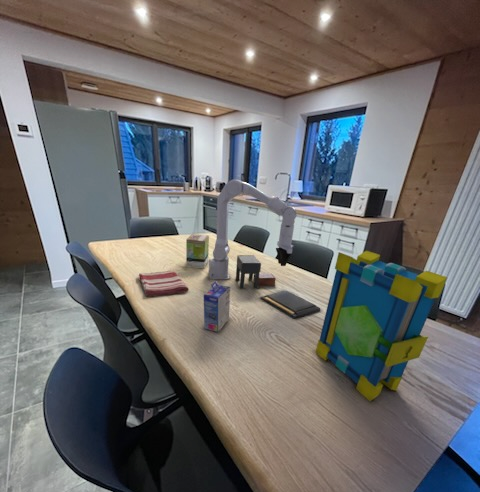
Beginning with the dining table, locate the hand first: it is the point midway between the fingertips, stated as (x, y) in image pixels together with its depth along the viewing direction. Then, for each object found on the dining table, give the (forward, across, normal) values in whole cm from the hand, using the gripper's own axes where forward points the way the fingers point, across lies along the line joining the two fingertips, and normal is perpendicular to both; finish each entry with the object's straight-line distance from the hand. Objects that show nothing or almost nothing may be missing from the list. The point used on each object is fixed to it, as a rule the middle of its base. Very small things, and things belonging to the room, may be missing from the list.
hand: (281, 264), depth 123 cm
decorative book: (+10, -62, 0) cm, 63 cm away
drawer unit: (+9, 0, +16) cm, 19 cm away
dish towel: (+10, 0, +54) cm, 55 cm away
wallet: (+10, -22, +3) cm, 25 cm away
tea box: (+10, +30, +37) cm, 48 cm away
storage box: (+9, 0, +8) cm, 12 cm away
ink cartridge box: (+10, -36, +34) cm, 50 cm away
